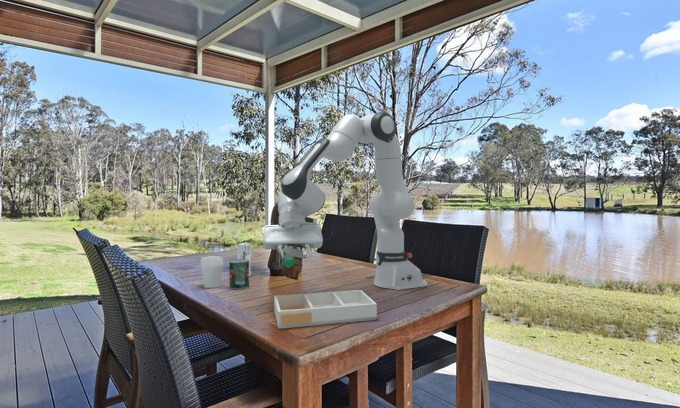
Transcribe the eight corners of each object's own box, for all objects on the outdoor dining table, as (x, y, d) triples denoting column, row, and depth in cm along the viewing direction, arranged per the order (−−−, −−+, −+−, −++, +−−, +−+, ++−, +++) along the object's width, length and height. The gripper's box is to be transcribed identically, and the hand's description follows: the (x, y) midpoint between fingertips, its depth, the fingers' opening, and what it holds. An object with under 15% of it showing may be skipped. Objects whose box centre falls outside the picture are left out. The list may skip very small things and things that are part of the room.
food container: (278, 266, 131) (284, 238, 130) (296, 269, 133) (301, 241, 131) (278, 279, 119) (284, 249, 118) (297, 281, 121) (304, 252, 119)
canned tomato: (225, 287, 156) (225, 260, 156) (242, 283, 162) (242, 258, 162) (236, 290, 151) (235, 263, 150) (253, 286, 157) (252, 260, 156)
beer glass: (248, 277, 172) (247, 245, 172) (234, 277, 174) (233, 244, 173) (254, 274, 179) (254, 243, 178) (241, 273, 180) (240, 242, 180)
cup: (196, 287, 155) (195, 258, 155) (211, 282, 164) (210, 255, 163) (213, 290, 152) (213, 260, 151) (228, 284, 160) (227, 256, 160)
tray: (361, 304, 133) (361, 289, 133) (377, 320, 116) (377, 304, 116) (274, 310, 126) (274, 295, 125) (278, 329, 109) (278, 312, 109)
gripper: (261, 219, 129) (262, 252, 120) (320, 219, 133) (325, 250, 124) (261, 231, 133) (262, 264, 124) (318, 230, 138) (323, 261, 129)
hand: (294, 257), depth 124 cm, fingers closed on food container, 5 cm apart
